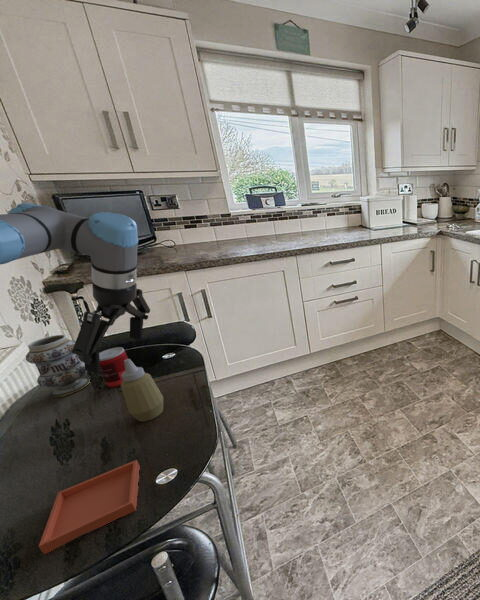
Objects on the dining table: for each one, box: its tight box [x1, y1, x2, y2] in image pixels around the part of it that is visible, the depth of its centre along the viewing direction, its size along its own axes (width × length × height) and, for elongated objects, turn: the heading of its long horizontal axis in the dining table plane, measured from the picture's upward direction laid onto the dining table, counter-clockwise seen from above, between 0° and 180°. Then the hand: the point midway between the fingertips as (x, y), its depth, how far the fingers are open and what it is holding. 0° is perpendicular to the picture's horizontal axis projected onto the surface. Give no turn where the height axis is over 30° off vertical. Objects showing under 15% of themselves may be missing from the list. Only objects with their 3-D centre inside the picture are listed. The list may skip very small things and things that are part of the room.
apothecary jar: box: [25, 334, 91, 398], centre depth 106 cm, size 12×12×18 cm
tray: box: [38, 459, 141, 555], centre depth 66 cm, size 13×13×2 cm
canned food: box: [99, 346, 129, 389], centre depth 108 cm, size 8×8×11 cm
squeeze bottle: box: [120, 358, 164, 422], centre depth 89 cm, size 8×8×18 cm
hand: (115, 353), depth 82 cm, fingers open, 13 cm apart
